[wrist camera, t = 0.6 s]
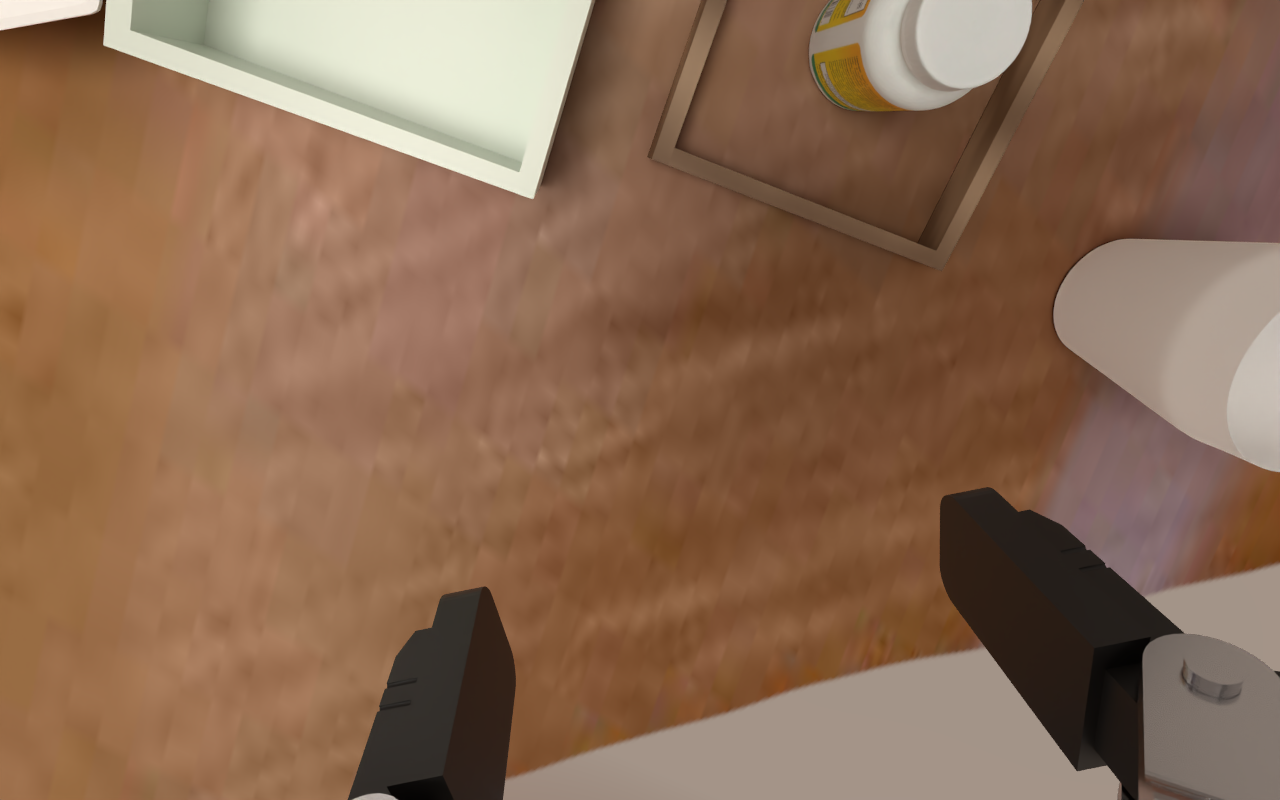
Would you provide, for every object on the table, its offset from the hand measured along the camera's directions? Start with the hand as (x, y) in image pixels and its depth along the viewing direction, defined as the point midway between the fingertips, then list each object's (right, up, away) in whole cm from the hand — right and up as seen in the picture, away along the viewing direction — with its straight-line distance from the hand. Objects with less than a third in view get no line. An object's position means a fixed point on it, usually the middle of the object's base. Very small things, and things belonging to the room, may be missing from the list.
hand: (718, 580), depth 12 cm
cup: (+25, +9, +25) cm, 36 cm away
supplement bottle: (+9, +20, +19) cm, 29 cm away
